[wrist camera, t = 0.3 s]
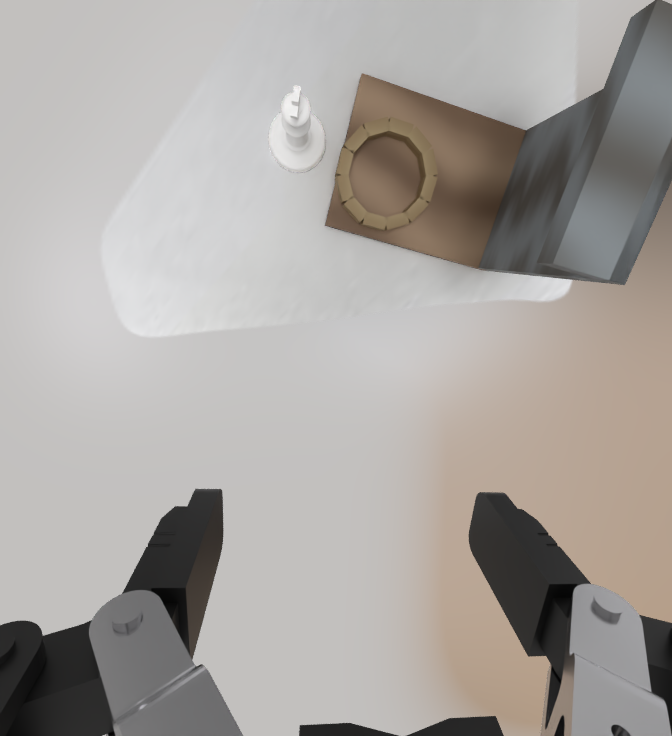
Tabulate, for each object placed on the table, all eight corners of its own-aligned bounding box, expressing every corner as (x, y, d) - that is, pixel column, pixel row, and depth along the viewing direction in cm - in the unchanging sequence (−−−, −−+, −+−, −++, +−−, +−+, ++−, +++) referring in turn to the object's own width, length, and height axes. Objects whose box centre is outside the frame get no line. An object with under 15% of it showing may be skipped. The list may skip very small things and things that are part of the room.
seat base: (357, 77, 33) (417, -106, 16) (529, 137, 35) (737, 33, 18) (323, 224, 36) (341, 201, 19) (483, 270, 38) (624, 284, 21)
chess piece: (265, 166, 34) (251, 133, 24) (271, 102, 33) (259, 41, 23) (321, 177, 35) (328, 149, 25) (329, 115, 33) (341, 60, 24)
